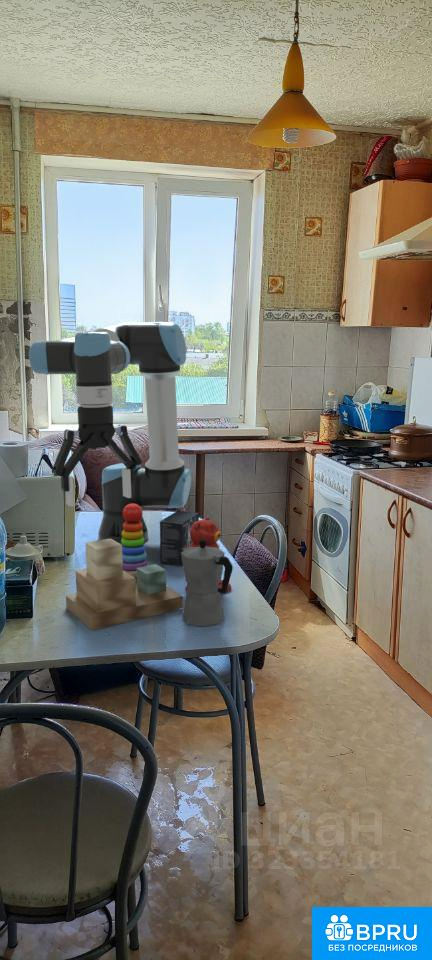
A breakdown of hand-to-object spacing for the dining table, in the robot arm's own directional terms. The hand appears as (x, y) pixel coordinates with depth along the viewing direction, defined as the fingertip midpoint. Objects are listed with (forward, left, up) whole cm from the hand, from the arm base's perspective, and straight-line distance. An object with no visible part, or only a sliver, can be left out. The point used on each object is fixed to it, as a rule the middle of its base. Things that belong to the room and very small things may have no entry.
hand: (99, 501), depth 154 cm
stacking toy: (-16, -16, -25) cm, 34 cm away
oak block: (+1, +4, -16) cm, 16 cm away
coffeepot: (-16, +20, -25) cm, 35 cm away
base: (-4, +4, -25) cm, 25 cm away
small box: (-33, -21, -25) cm, 46 cm away
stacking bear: (-25, +5, -25) cm, 35 cm away
